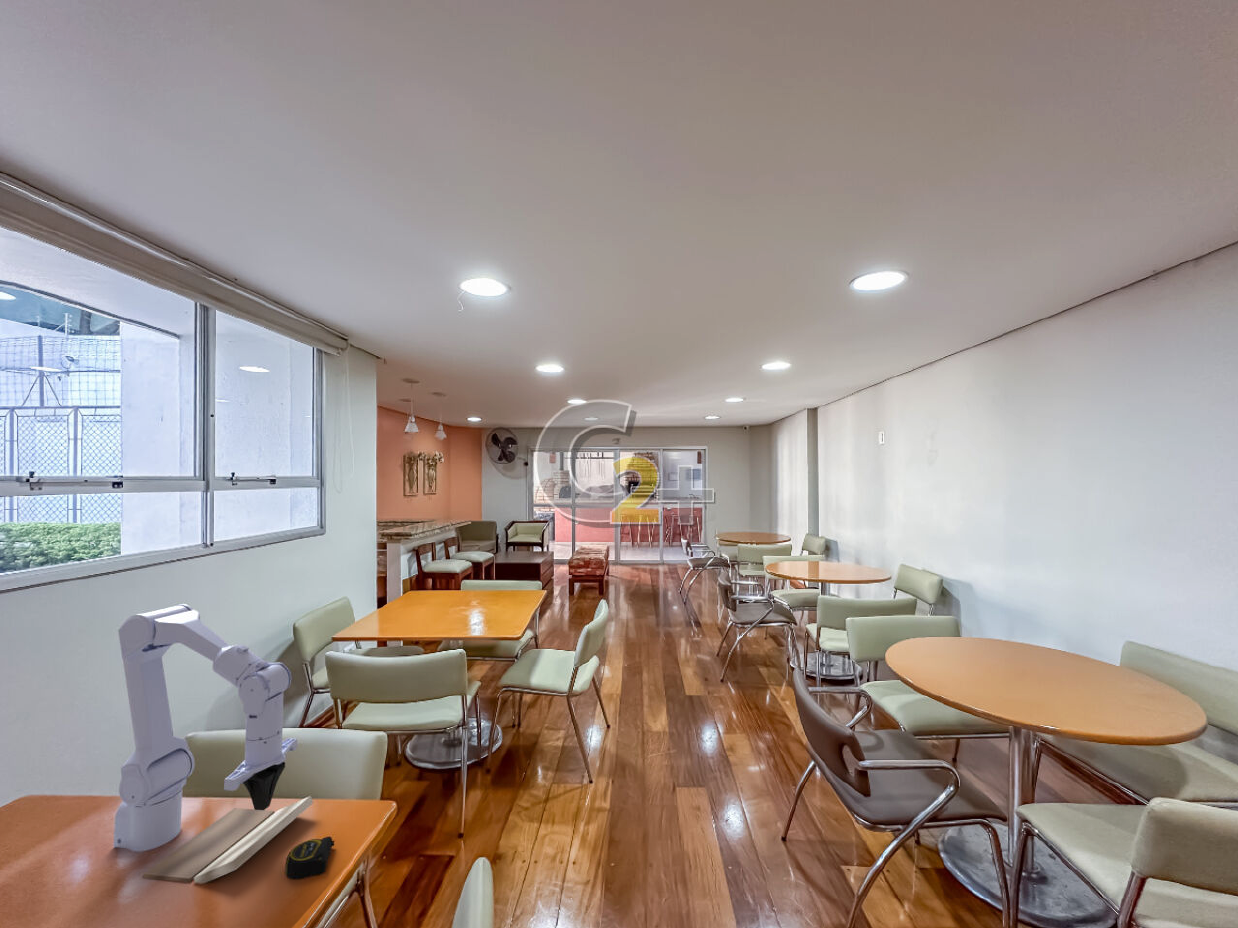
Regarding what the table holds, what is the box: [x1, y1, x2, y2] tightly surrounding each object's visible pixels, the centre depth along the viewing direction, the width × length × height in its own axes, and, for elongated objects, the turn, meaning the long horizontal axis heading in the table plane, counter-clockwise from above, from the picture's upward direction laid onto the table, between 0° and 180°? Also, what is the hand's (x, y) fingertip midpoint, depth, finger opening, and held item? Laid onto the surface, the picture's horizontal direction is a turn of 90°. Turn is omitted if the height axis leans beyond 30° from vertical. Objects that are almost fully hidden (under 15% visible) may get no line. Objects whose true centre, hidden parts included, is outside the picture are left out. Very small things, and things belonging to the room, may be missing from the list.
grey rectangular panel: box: [142, 807, 275, 883], centre depth 94 cm, size 9×18×2 cm, turn 173°
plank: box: [193, 795, 314, 884], centre depth 93 cm, size 8×18×2 cm, turn 174°
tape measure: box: [284, 836, 335, 880], centre depth 89 cm, size 7×7×4 cm
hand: (262, 807), depth 93 cm, fingers closed
